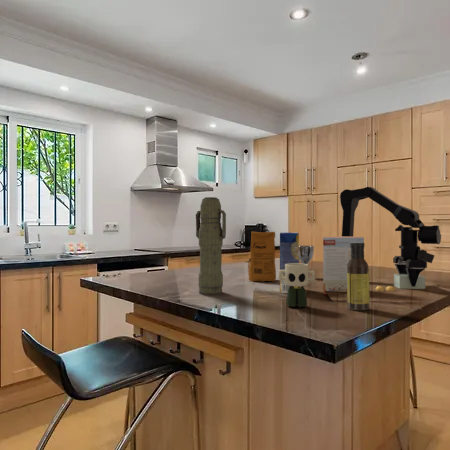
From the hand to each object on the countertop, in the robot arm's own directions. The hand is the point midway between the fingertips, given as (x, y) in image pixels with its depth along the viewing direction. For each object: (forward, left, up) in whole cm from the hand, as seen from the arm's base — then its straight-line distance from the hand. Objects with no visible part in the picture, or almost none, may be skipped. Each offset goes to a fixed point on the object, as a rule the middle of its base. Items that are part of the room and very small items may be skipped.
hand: (408, 284), depth 144 cm
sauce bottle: (-26, -34, -3) cm, 43 cm away
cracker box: (-26, -10, -3) cm, 28 cm away
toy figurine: (-44, -33, -3) cm, 55 cm away
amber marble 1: (-13, -8, -1) cm, 15 cm away
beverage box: (-45, -5, -3) cm, 45 cm away
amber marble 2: (-9, -8, -1) cm, 12 cm away
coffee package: (-56, +20, -3) cm, 60 cm away
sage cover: (0, 0, -2) cm, 2 cm away
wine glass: (-36, +31, -3) cm, 48 cm away
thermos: (-74, -13, -3) cm, 75 cm away
